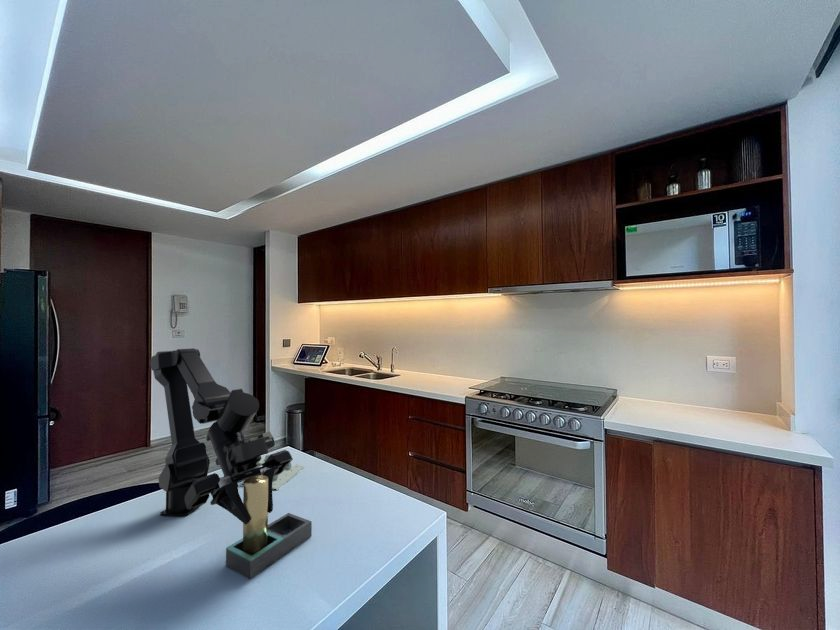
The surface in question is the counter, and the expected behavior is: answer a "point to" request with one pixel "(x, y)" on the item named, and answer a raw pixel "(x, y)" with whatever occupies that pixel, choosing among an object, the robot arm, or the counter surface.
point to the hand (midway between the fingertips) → (259, 517)
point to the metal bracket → (283, 474)
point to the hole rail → (269, 546)
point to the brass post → (255, 514)
